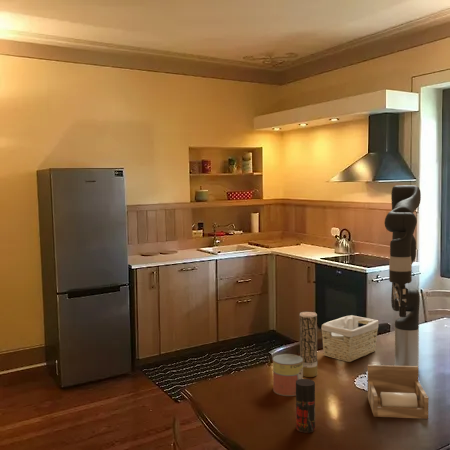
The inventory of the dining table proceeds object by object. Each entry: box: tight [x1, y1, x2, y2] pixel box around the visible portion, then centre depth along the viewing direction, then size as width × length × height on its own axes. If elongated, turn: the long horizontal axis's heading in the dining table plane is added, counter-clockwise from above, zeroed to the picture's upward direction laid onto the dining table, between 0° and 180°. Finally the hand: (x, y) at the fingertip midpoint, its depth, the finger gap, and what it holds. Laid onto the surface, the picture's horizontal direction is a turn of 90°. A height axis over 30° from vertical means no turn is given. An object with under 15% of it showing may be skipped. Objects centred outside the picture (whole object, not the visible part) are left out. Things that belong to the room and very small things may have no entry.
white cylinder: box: [380, 392, 417, 408], centre depth 173 cm, size 6×11×6 cm
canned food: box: [272, 353, 304, 397], centre depth 193 cm, size 11×11×12 cm
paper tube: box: [299, 311, 318, 378], centre depth 207 cm, size 7×7×25 cm
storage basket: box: [321, 314, 379, 363], centre depth 232 cm, size 24×16×15 cm
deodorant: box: [295, 378, 316, 434], centre depth 162 cm, size 6×6×15 cm
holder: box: [367, 364, 430, 420], centre depth 176 cm, size 15×17×12 cm
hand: (400, 313), depth 183 cm, fingers open, 8 cm apart
